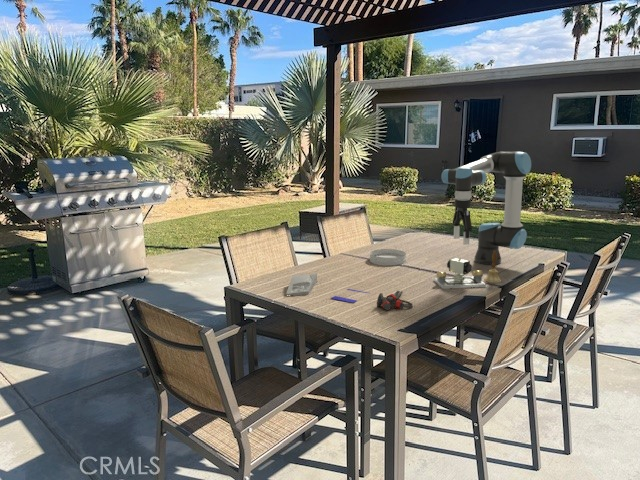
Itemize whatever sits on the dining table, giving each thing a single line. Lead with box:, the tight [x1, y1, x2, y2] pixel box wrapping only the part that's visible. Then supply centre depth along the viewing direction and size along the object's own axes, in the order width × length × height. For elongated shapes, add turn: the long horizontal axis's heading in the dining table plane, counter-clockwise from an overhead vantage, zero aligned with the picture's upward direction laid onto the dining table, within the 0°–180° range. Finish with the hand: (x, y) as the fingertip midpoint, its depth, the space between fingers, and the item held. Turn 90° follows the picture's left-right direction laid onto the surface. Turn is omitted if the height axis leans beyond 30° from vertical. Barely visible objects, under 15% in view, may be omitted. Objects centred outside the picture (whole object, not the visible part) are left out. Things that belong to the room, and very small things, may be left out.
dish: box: [369, 248, 407, 266], centre depth 293 cm, size 22×22×5 cm
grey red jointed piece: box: [376, 289, 413, 311], centre depth 219 cm, size 6×26×15 cm
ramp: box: [285, 272, 318, 297], centre depth 242 cm, size 28×16×5 cm, turn 151°
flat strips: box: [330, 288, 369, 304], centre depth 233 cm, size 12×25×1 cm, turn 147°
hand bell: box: [483, 251, 502, 284], centre depth 248 cm, size 8×8×16 cm
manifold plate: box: [433, 269, 487, 290], centre depth 245 cm, size 23×14×7 cm, turn 94°
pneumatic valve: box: [446, 257, 473, 282], centre depth 244 cm, size 6×12×12 cm, turn 42°
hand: (461, 241), depth 241 cm, fingers open, 13 cm apart
